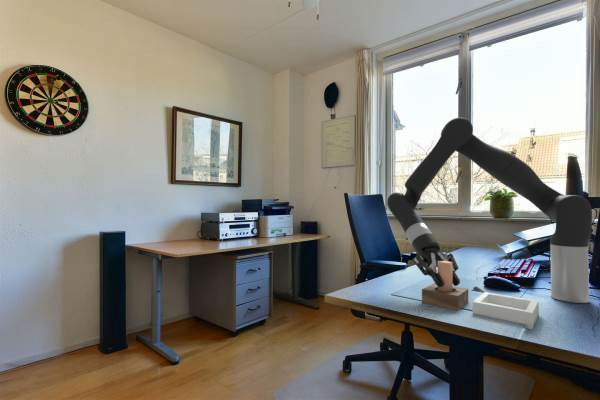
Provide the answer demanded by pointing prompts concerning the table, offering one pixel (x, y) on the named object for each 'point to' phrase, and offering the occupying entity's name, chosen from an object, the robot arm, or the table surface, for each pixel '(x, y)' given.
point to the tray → (507, 308)
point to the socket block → (445, 297)
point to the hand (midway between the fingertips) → (449, 284)
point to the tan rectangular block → (446, 275)
